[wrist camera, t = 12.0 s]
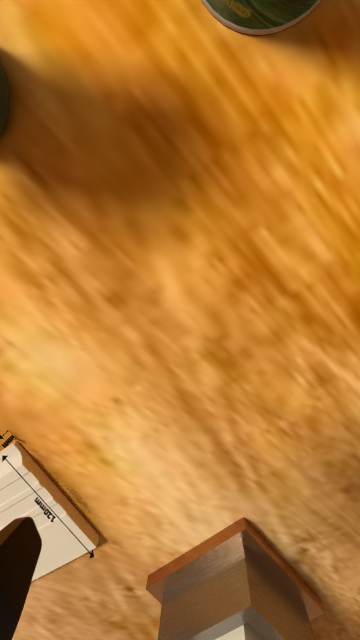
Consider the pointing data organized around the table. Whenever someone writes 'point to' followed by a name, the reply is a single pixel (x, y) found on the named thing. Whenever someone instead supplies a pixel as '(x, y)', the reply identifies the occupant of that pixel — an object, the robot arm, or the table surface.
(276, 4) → the canned tomato
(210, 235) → the table surface
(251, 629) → the cream rectangular block
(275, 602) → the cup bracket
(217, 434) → the table surface
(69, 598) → the table surface
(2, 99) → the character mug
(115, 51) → the table surface
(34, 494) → the baseboard molding
